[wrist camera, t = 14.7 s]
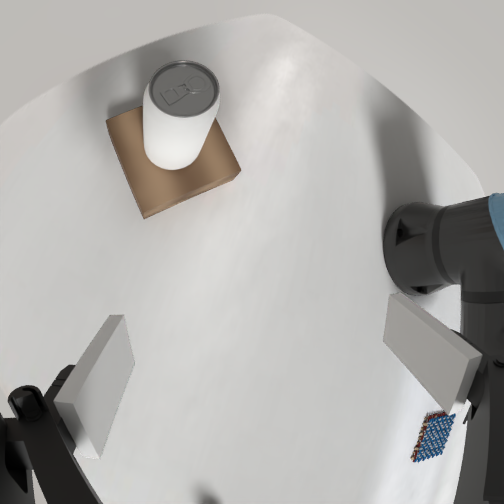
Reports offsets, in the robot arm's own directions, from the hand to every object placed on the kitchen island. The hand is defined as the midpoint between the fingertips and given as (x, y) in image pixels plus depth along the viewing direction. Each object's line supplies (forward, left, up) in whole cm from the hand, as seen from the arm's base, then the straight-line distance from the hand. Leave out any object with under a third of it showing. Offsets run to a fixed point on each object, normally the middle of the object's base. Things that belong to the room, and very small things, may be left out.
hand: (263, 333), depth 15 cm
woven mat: (-26, +48, -24) cm, 60 cm away
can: (-4, -17, -20) cm, 26 cm away
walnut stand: (-4, -17, -23) cm, 29 cm away
